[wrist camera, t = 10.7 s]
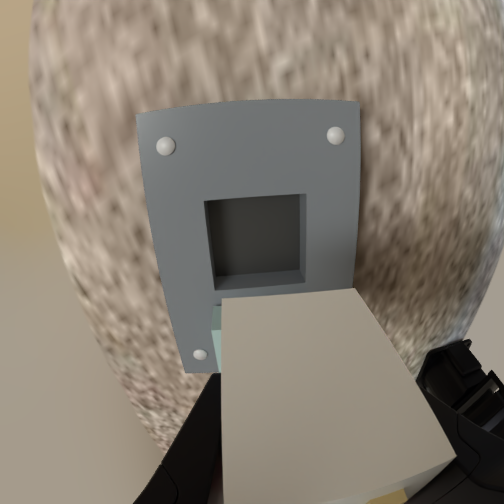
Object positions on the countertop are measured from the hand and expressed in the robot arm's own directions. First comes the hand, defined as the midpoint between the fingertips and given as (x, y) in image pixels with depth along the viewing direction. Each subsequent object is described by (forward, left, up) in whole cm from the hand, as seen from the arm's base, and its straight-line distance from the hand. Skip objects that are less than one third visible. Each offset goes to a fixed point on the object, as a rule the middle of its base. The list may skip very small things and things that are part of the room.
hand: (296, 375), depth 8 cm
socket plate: (-1, 0, -12) cm, 12 cm away
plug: (0, 0, -1) cm, 1 cm away
